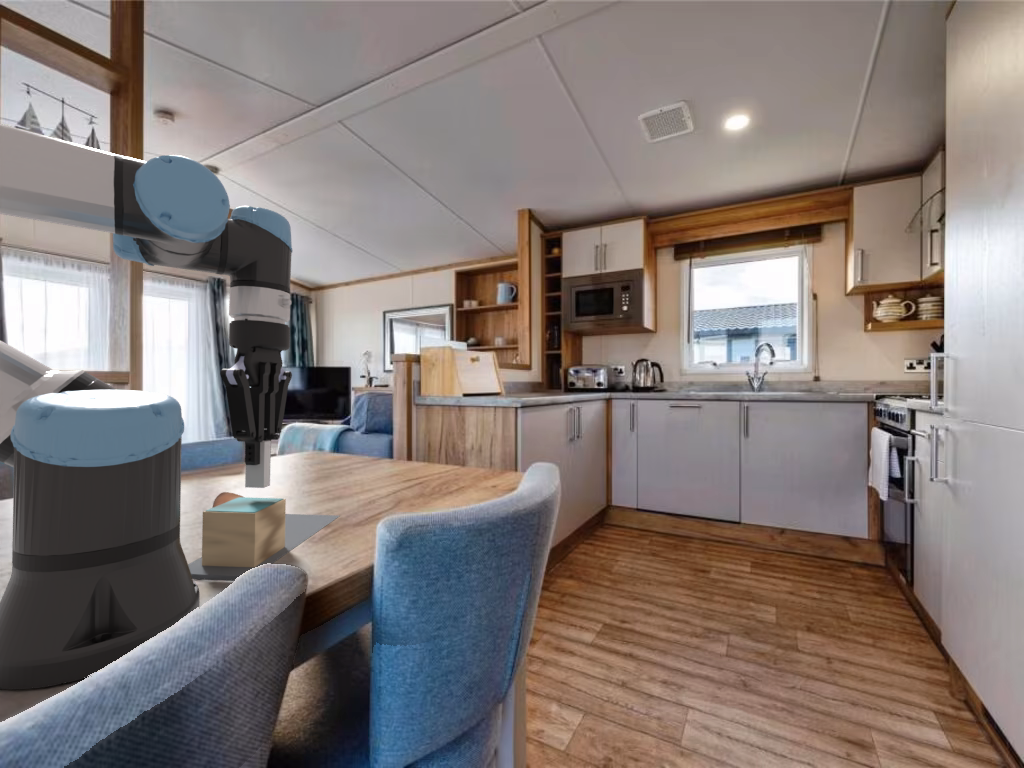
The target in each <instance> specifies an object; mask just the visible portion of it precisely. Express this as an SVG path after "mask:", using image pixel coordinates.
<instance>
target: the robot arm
mask: <svg viewBox="0 0 1024 768" xmlns="http://www.w3.org/2000/svg"><path fill="white" fill-rule="evenodd" d="M230 208H231V205H230V199H229V196H228V192H227V189H226V188H225V186H224V185H223V182H222V181H221V180H220V179H219V177H218V176H217V175H216V174H215V173H214V172H213V171H212V170H210V169H209V168H208V167H207V166H205V165H203V164H202V163H200V162H199V161H196V160H194V159H191V158H190V157H186V156H183V155H179V154H178V155H177V154H175V155H174V154H169V155H165V154H163V155H160V156H156V157H153V158H150V159H149V160H146V161H145V160H141V159H137V158H133V157H130V156H124V155H120V154H116V153H112V152H108V151H104V150H102V149H101V150H100V149H97V148H93V147H89V146H87V145H83V144H79V143H74V142H71V141H66V140H63V139H60V138H56V137H51V136H48V135H44V134H41V133H37V132H32V131H30V130H26V129H21V128H18V127H14V126H10V125H8V124H7V125H6V124H3V123H0V215H4V216H10V217H14V218H22V219H27V220H33V221H39V222H40V221H41V222H45V223H51V224H57V225H63V226H68V227H75V228H80V229H87V230H91V231H97V232H102V233H108V234H109V233H110V234H112V242H113V243H112V247H113V248H112V249H113V252H114V254H115V255H116V256H118V257H119V258H120V259H122V260H127V261H132V262H137V263H141V264H145V265H147V266H152V267H154V266H159V267H167V268H173V269H182V270H188V271H195V272H203V273H209V274H215V275H220V276H223V275H224V276H228V277H229V281H230V283H229V300H228V302H229V305H228V316H229V317H231V318H232V319H233V320H232V321H230V323H229V326H228V345H229V346H230V347H231V348H232V349H236V354H235V357H234V360H233V361H234V362H233V363H234V365H232V366H231V367H230V368H222V369H220V373H219V375H220V377H221V379H222V382H223V384H224V386H225V391H226V397H227V405H228V410H229V411H228V412H229V417H230V423H231V432H232V437H233V439H235V440H236V442H238V443H239V442H241V443H242V442H243V443H244V463H245V475H244V477H245V478H244V479H245V480H244V482H245V484H244V486H245V488H251V489H252V488H253V489H255V488H257V489H265V488H268V487H270V486H271V461H272V460H271V458H272V451H271V450H272V441H273V440H274V441H275V440H276V441H277V440H279V438H280V434H281V433H282V430H283V428H282V427H283V425H284V424H283V423H284V418H285V417H284V416H285V411H286V410H285V409H286V403H287V397H288V391H289V385H290V382H291V380H292V377H293V373H292V372H291V371H286V370H285V369H284V368H283V363H284V362H283V358H282V354H281V353H282V351H284V352H285V351H288V350H289V349H290V347H291V328H290V327H289V325H288V324H286V323H288V322H289V321H290V320H291V305H292V300H291V274H292V271H291V270H292V255H293V254H292V253H293V245H292V229H291V224H290V222H289V220H288V219H287V218H286V217H285V216H283V215H282V214H280V213H278V212H277V211H274V210H271V209H268V208H264V207H260V206H259V207H253V206H251V205H250V206H249V205H241V206H237V207H235V208H233V209H232V211H231V215H230V217H229V213H230ZM184 432H185V421H184V419H183V416H182V407H181V404H180V402H179V401H178V400H177V399H176V398H174V397H173V396H171V395H167V394H165V393H159V392H151V391H145V390H135V389H134V390H131V389H116V388H115V387H113V386H112V385H109V384H108V383H106V382H105V381H102V380H101V379H99V378H97V377H96V376H95V375H92V374H90V373H89V372H87V371H86V370H83V369H79V370H78V369H77V370H76V369H75V370H61V371H60V370H55V369H52V368H50V367H49V366H47V365H45V364H44V363H42V362H40V361H38V360H37V359H34V358H33V357H31V356H29V355H27V354H26V353H24V352H22V351H20V350H18V349H17V348H15V347H13V346H12V345H9V344H8V343H6V342H5V341H3V340H0V462H1V463H3V464H5V465H7V466H8V467H11V468H13V493H12V494H13V495H12V496H13V497H12V498H13V500H12V501H13V502H12V543H11V544H12V545H11V548H12V552H11V553H12V556H11V562H12V563H11V564H12V565H11V566H12V567H11V575H10V578H9V579H8V580H9V581H8V583H7V584H6V587H5V590H4V592H3V595H2V597H1V600H0V689H3V690H4V689H5V690H29V689H38V688H45V687H46V688H47V687H53V686H58V685H62V684H61V683H63V684H66V683H65V682H68V683H71V682H75V681H80V680H83V678H84V677H87V676H88V675H90V674H92V673H94V672H97V671H98V670H100V669H102V668H104V667H105V666H107V665H108V664H110V663H112V662H113V661H116V660H117V659H119V658H120V657H122V656H123V655H125V654H127V653H128V652H130V651H131V650H133V649H134V648H136V647H137V646H139V645H140V644H142V643H144V642H145V641H147V640H149V639H150V638H152V637H154V636H156V635H157V634H158V633H160V632H162V631H164V630H166V629H167V628H169V627H171V626H172V625H174V624H175V623H176V622H178V621H179V620H180V619H181V618H183V617H184V616H186V615H187V614H188V613H190V612H191V611H193V610H194V609H196V608H197V607H199V608H200V603H201V602H200V600H201V598H200V597H201V594H200V588H199V586H198V584H197V582H196V581H195V579H192V576H191V572H190V569H189V566H188V564H189V563H188V561H187V558H186V555H185V553H184V550H183V547H182V544H181V502H182V501H181V494H182V493H181V491H182V490H181V487H182V441H183V440H182V439H183V438H182V435H183V434H184ZM84 679H85V678H84Z"/></svg>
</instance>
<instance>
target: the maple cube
mask: <svg viewBox="0 0 1024 768" xmlns="http://www.w3.org/2000/svg"><path fill="white" fill-rule="evenodd" d="M286 501H287V500H286V498H278V497H277V498H274V497H273V498H272V497H249V496H248V497H244V496H243V497H239V498H236V499H234V500H231V501H228V502H226V503H223V504H221V505H218V506H216V507H213V506H212V507H213V508H211V507H210V508H208V509H206V510H204V511H202V533H201V535H202V537H201V538H202V539H201V557H202V566H228V567H256V566H257V565H259V564H260V563H262V562H263V561H265V560H266V559H268V558H269V557H271V556H272V555H274V554H275V553H277V552H278V551H280V550H281V549H283V548H284V547H285V514H286V511H287V510H286V508H287V507H286V506H287V502H286Z"/></svg>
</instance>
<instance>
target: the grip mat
mask: <svg viewBox="0 0 1024 768" xmlns="http://www.w3.org/2000/svg"><path fill="white" fill-rule="evenodd" d="M339 517H340V515H331V514H330V515H329V514H301V513H300V514H299V513H297V514H296V513H285V547H284V548H283V549H281V550H280V551H278V552H277V553H275V554H274V555H272V556H271V557H269V558H268V559H266V560H265V561H263V562H262V563H260V564H259V565H257V566H256V567H258V566H260V565H263V564H267V563H272V564H274V563H275V562H277V561H278V560H280V559H281V558H282V557H284V556H285V555H286V554H288V553H289V552H291V551H292V550H293V549H296V547H298V546H299V545H301V544H302V543H304V542H305V541H307V539H309V538H311V537H312V536H314V535H315V534H317V533H318V532H319V531H321V530H322V529H323V528H325V527H326V526H328V525H329V524H331V523H332V522H334V521H335V520H336V519H338V518H339ZM188 566H189V569H190V572H191V576H192V579H193V580H206V581H207V580H208V581H209V580H210V581H233V580H235V579H236V578H237V577H239V576H240V575H242V574H243V573H245V572H246V571H248V570H250V569H252V568H255V567H228V566H202V556H201V557H199V558H197V559H194V561H191V562H190V563H188ZM233 582H234V581H233Z"/></svg>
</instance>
